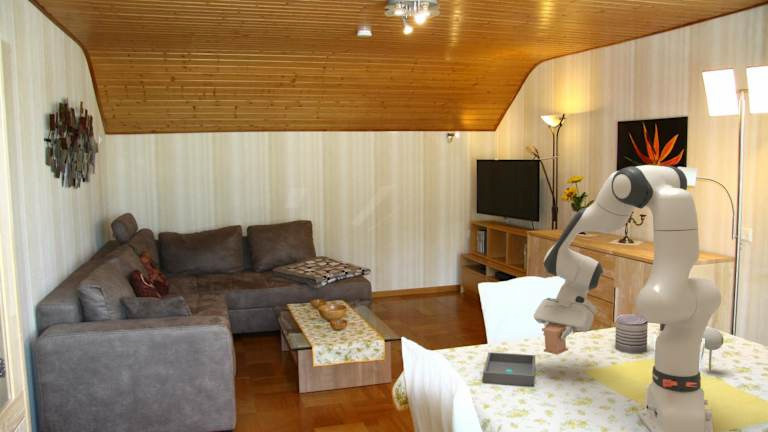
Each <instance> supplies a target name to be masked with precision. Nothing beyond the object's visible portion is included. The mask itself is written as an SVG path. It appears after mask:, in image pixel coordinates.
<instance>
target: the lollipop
mask: <svg viewBox="0 0 768 432" xmlns="http://www.w3.org/2000/svg"><path fill="white" fill-rule="evenodd" d="M703 338H705V348H704V349H706V350H708V351H709V352H708V353H709V354H708V373H709V374H711V371H712V354H713V353H712V352H713V351H716V350H718V349H720V348H721V347H722V346H723V344H724V336H723V334H722V332H720V330H718V329H716V328H714V327H708V328H707V327H706V329H705V332H704V335H703Z"/></svg>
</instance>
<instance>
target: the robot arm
mask: <svg viewBox="0 0 768 432" xmlns="http://www.w3.org/2000/svg"><path fill="white" fill-rule="evenodd" d="M605 180H606V181H605V182H604V184H603V185H602V186H601V188H600V190H599V192H598V195H597V196H596V198H595V200H594V201H593V203H592V204H591V205H589V206H588V207H582V208H580V209H579V210H578V211H577V212H576V214H575V215H574V216H573V217H572V219H571V220H570V221H569V223H568V224H567V225H566V227H565V229H563V231H562V233H561V234H560V236H559V237H558V239H557V241H555V243H554V244H553V245H552V246H551V247H550V249H548V251H547V252H546V254H545V256H544V258H543V266H544V269H545V270H546V272H547V274H550V275H552V276H556V277H559V278H561V279H563V280H564V283H563V284H562V286H561V287H560V288H559V291H558V293H557V295H556V297H555V298H552V297H547V298H545V299H542V301H541V303H540V304H539V305H538V307H537V308H536V310H535V312H534V314H533V319H534V320H535V321H536V322H537V323H538V324H543V328H545V327H547V326H549V325H552V324H554V325H559V326H564V327H566V330H565V331H564V332H563V333H560V335H559V339H560V340H565V341H566V339H567V337H568V336H569V335H570V334H572V333H573V331H576V332H577V331H578V332H582V333H587V332H589V331H590V329H591V328H592V325H593V322H594V319H595V316H594V314H596V312H597V308H596V307H595V305H594V304H593V303H592V302H591V301H590V300H589V299H588V297H587V296H588V293H589V291H592V290H595V289H596V288H597V287H598V285H599V281H600V278H601V277H602V276H603V274H604V270H603V267H602V264H601V263H600V262H599V261H597V260H596V259H594V258H592V257H590V256H587V255H584V254H581V253H579V252H577V251H574V250H573V249H571V248H570V247H569V246H570V245H571V244H572V242H573V241H574V239H575V238H576V237H577V235H579V234H580V233H583V232H597V233H612V232H616V231H619V230H621V229H622V228H624V226H625V225H626V224H627V223H628V221H629V219H630V218H631V215H632V214H633V212H634V209H635V208H637V209H643V208H645V207H646V208H648V209H649V210H650V212H651V214H652V226H653V227H652V229H653V231H652V232H653V259H652V260H653V261H652V267H651V270H650V273H649V276H648V279H647V281H646V283H645V285H644V286H643V288H642V289H641V290H640V291H639V292H638V294H637V295H636V301H635V303H636V309H637V312H638V313H639V314H638V315H641V317H642V318H643V319H644V320H646V321H647V322H648V323H650V324H658V325H660V324H666V326H665V328H664V330H663V331H662V332H661V333H660V332H659V334H658V335H657V337H656V339H655V344H654V347H655V348H654V365H653V367H652V371H651V375H652V377H651V380H652V381H651V383H650V384H649V385H647V386H646V387H645V398H644V399H645V400H644V409H642V410H639V411H638V412H637V416H638V417H639V419H640V420H641V422H643V424H644V425H645V426H646V428H647V429H648V430H649V432H714V428H713V427H714V425H713V418H712V411H713V410H712V409H708V408H707V409H706V408H705V406H708V404H709V400H708V399H705V390H704V389H702V385H701V383H702V377H701V371H700V357H701V356H700V355H701V346H702V345H701V342H702V338H703V335H704V332H705V329H707V327H708V324H709V322H710V320H711V318H712V316H713V315H714V313H715V312H716V311H717V310H718V309H719V308H720V306H721V304H722V294H721V291H720V288H719V287H718V285H717V284H715V283H714V282H713V281H711V280H709V279H705V278H700V277H689V276H690V274H691V270H692V268H693V266H694V265H696V263H697V262H698V260H699V259H700V241H699V239H700V238H699V237H700V236H699V223H698V222H699V221H698V214H697V209H696V204H695V201H694V196H693V195H692V193H691V192H690V191H689V190H687V188H688V179H687V176H686V173H684V171H683V170H682V169H681V168H678V167H676V166H671V165H652V164H644V165H643V164H642V165H637V166H627V167H624V168H621V169H619V170H617V171H614V172H612V173H611V174H610V175H609V176H608V178H607V179H605ZM542 334H543V336H544V337H545V335H544V332H542Z"/></svg>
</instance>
